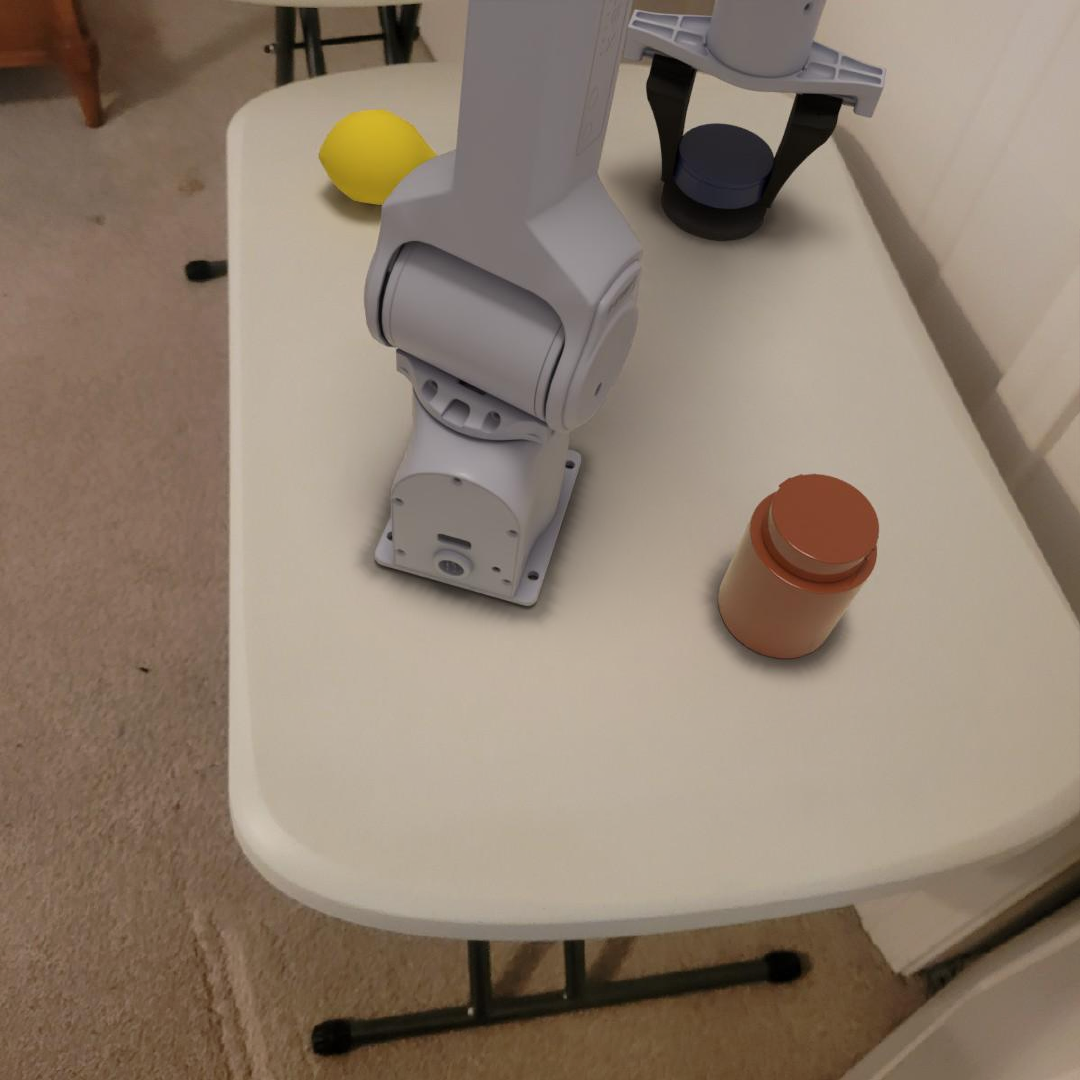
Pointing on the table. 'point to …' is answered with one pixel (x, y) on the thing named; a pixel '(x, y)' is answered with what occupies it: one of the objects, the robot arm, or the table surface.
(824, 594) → the jar
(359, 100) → the table surface
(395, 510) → the robot arm
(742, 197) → the lid
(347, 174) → the lemon
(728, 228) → the coaster
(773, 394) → the table surface
